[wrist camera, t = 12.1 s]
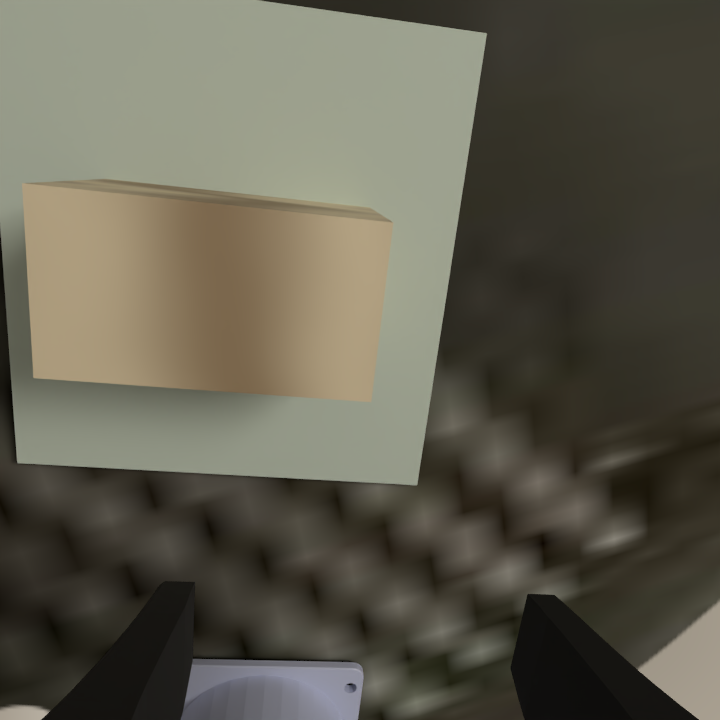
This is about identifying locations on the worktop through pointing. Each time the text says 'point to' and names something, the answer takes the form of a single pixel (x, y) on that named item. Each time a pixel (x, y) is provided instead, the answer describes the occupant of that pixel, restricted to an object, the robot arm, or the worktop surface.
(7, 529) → the worktop surface
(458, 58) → the rubber mat
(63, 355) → the birch block
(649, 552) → the worktop surface
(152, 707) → the robot arm
